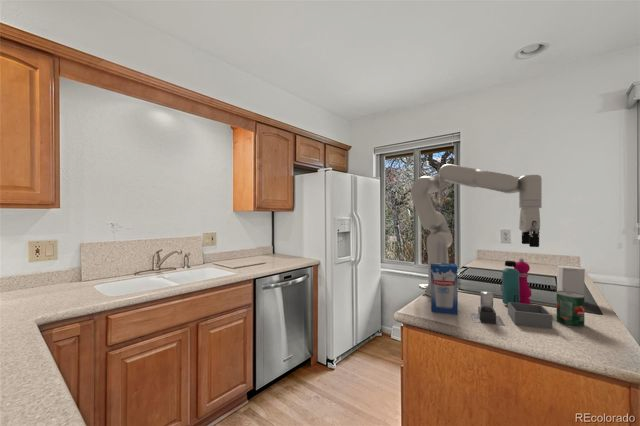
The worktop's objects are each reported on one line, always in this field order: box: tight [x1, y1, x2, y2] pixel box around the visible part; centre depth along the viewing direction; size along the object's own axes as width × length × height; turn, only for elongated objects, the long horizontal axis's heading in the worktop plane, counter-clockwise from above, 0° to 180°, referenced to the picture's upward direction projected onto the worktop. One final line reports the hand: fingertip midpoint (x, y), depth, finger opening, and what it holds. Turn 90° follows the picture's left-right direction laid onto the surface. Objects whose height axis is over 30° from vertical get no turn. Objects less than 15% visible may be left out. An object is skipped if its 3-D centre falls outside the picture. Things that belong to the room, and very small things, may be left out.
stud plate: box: [470, 312, 506, 327], centre depth 109 cm, size 10×10×4 cm
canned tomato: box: [555, 290, 586, 329], centre depth 106 cm, size 8×8×11 cm
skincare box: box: [556, 264, 586, 296], centre depth 131 cm, size 8×7×16 cm
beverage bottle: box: [501, 260, 520, 306], centre depth 124 cm, size 6×7×20 cm
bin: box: [507, 302, 553, 330], centre depth 106 cm, size 11×11×6 cm
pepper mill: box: [513, 258, 532, 304], centre depth 130 cm, size 7×7×20 cm
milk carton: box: [430, 263, 459, 315], centre depth 118 cm, size 10×6×20 cm, turn 70°
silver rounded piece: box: [477, 290, 497, 322], centre depth 109 cm, size 5×5×10 cm
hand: (530, 245), depth 120 cm, fingers open, 9 cm apart
